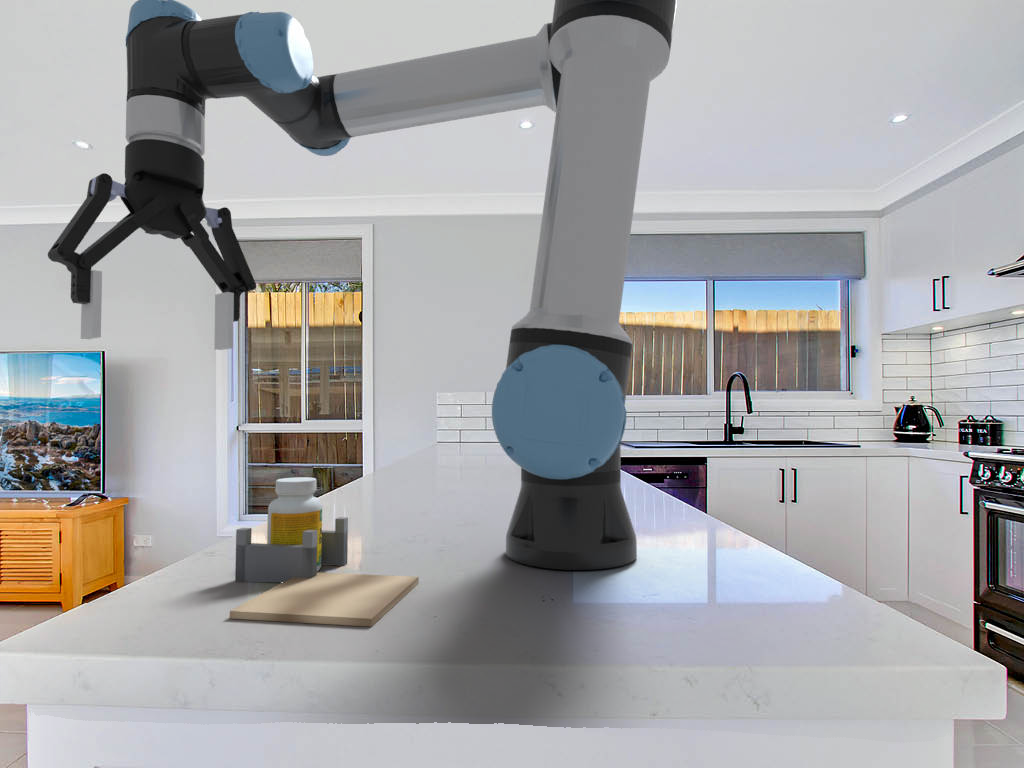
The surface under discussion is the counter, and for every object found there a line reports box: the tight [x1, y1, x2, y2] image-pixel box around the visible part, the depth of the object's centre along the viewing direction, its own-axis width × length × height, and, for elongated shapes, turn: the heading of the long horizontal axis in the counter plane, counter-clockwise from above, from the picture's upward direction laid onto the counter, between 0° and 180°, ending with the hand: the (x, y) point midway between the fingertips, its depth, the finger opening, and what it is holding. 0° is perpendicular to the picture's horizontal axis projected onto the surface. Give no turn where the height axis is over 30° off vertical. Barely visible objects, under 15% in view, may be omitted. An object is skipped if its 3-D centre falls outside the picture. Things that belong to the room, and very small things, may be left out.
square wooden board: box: [229, 571, 420, 628], centre depth 54 cm, size 12×12×1 cm
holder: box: [234, 516, 349, 583], centre depth 63 cm, size 8×8×5 cm
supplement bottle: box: [266, 476, 323, 572], centre depth 63 cm, size 5×5×10 cm
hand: (162, 344), depth 65 cm, fingers open, 13 cm apart
